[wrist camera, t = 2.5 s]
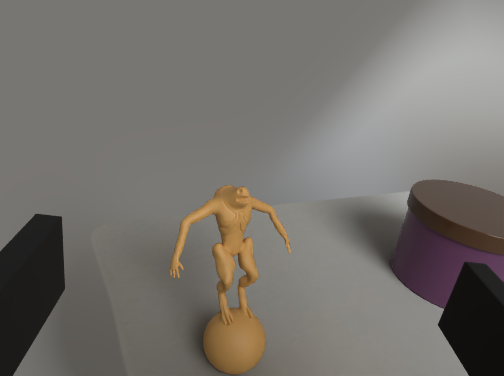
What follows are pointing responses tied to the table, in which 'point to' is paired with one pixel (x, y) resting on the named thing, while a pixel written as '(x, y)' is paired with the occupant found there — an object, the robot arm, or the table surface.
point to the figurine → (231, 279)
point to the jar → (447, 236)
